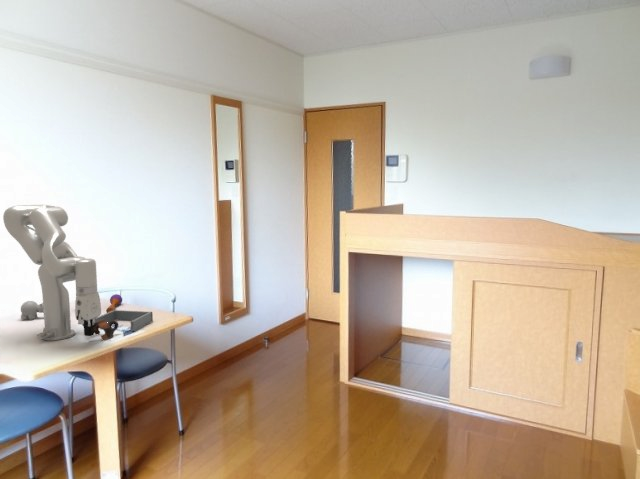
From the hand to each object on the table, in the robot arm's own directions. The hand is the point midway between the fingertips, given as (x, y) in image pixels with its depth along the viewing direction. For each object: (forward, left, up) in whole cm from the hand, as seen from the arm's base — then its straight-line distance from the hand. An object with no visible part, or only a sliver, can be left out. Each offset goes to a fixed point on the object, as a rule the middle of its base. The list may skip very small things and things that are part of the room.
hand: (89, 335), depth 189 cm
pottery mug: (+8, -1, -3) cm, 9 cm away
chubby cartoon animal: (+28, +47, -3) cm, 55 cm away
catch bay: (+24, 0, -3) cm, 24 cm away
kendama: (+50, +22, -4) cm, 55 cm away
